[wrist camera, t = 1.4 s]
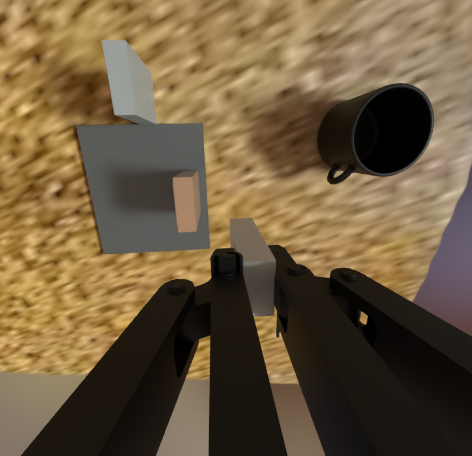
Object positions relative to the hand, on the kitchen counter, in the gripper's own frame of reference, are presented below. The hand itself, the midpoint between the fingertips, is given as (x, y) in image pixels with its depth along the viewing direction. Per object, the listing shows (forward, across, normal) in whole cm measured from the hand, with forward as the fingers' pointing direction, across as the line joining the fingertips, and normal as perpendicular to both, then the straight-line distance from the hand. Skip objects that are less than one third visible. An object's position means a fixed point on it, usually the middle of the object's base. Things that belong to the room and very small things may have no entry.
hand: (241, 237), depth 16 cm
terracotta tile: (+19, -5, 0) cm, 20 cm away
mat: (+20, -11, 0) cm, 23 cm away
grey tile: (+20, -10, +12) cm, 25 cm away
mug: (+20, +17, +6) cm, 27 cm away
